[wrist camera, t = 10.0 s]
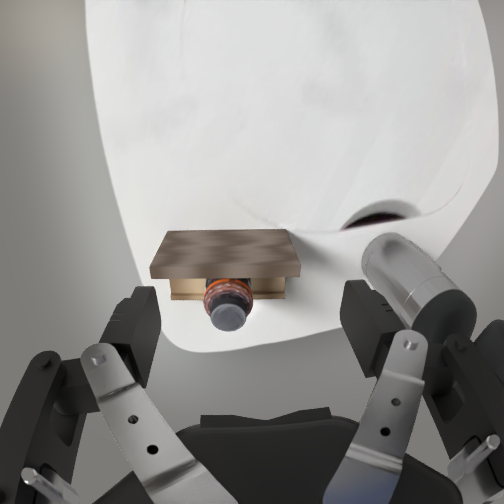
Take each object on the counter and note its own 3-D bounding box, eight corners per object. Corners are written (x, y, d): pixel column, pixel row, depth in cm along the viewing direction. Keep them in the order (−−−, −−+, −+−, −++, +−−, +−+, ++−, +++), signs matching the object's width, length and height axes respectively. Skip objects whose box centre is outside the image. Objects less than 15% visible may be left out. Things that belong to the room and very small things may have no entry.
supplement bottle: (199, 273, 43) (190, 322, 33) (223, 242, 41) (220, 286, 31) (233, 293, 45) (234, 345, 34) (257, 264, 43) (265, 312, 33)
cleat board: (285, 229, 43) (300, 265, 34) (281, 287, 48) (293, 332, 38) (167, 231, 42) (149, 267, 33) (174, 288, 47) (161, 333, 37)
